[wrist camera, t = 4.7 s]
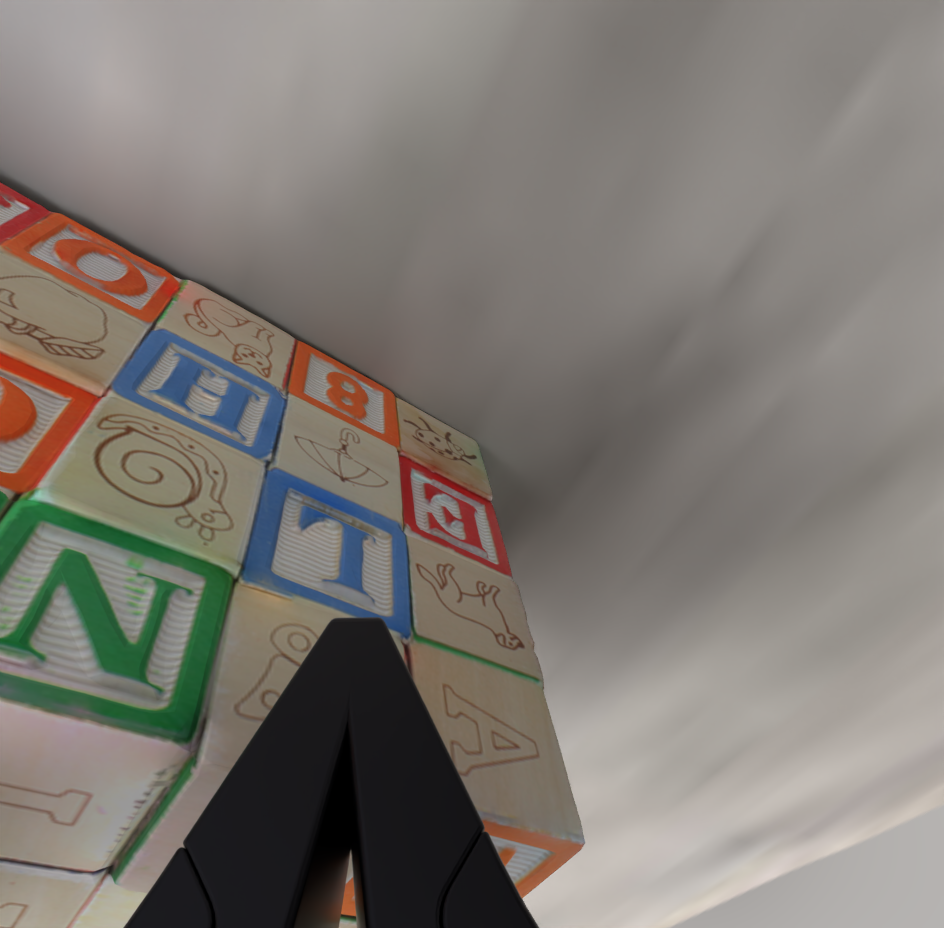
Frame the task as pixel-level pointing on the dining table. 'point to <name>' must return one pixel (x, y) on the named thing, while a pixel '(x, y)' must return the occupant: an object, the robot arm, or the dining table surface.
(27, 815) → the stack of blocks
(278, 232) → the dining table surface
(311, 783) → the robot arm
